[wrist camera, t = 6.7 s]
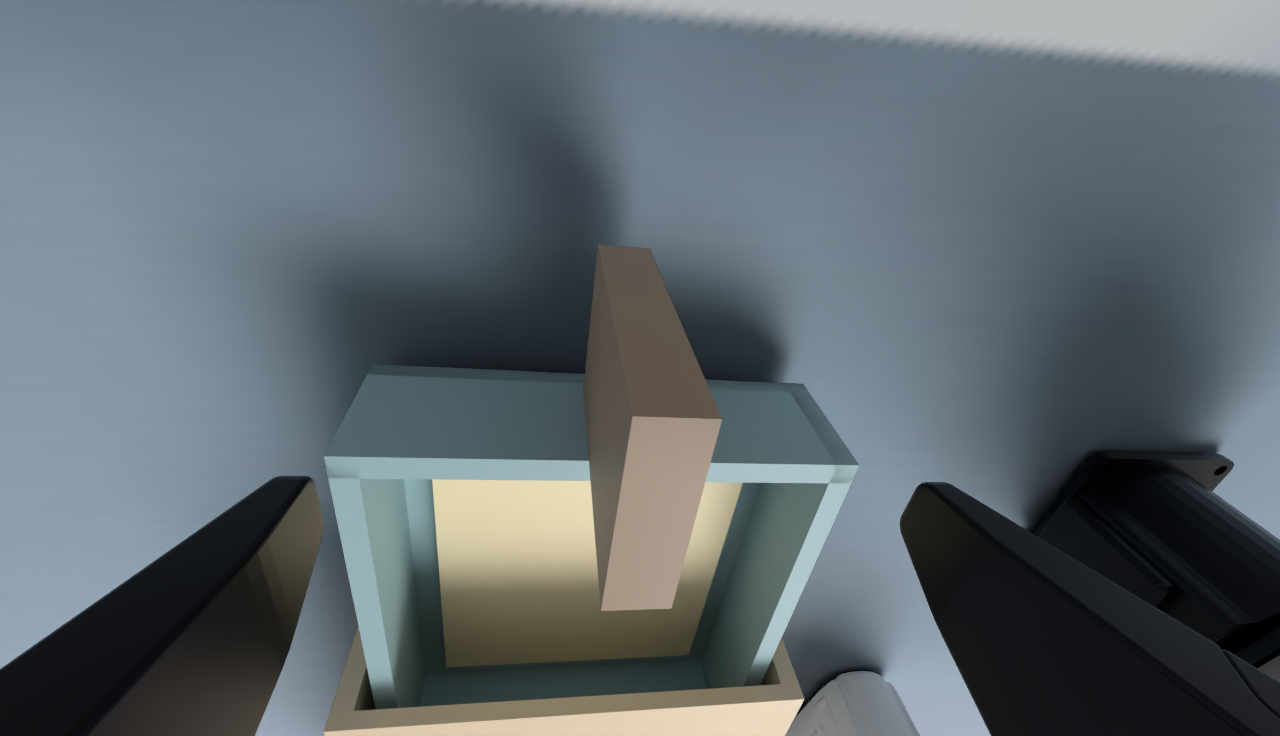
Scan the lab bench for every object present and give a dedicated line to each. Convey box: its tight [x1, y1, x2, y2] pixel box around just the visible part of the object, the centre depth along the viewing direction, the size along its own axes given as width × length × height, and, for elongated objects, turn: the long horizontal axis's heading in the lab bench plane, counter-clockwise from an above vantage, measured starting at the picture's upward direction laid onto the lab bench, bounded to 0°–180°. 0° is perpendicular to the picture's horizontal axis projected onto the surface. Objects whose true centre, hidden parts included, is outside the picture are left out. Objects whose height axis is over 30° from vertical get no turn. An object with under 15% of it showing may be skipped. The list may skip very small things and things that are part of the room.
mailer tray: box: [324, 244, 859, 709], centre depth 15 cm, size 12×18×7 cm, turn 172°
